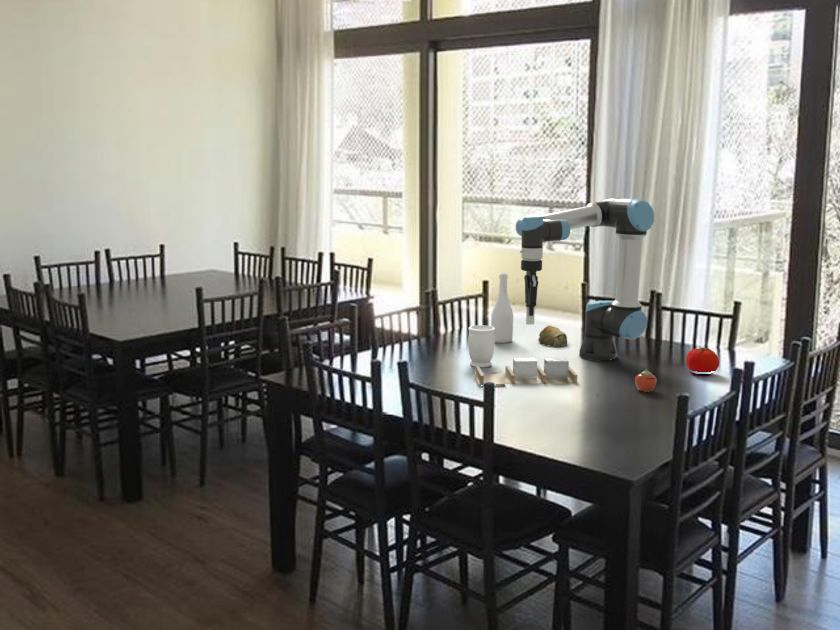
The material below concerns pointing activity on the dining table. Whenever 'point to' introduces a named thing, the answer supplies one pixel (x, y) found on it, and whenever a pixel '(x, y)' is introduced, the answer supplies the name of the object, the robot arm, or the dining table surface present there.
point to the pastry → (552, 337)
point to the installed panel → (556, 368)
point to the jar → (481, 345)
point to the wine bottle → (502, 314)
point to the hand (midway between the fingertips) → (530, 323)
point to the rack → (510, 379)
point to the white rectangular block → (525, 368)
